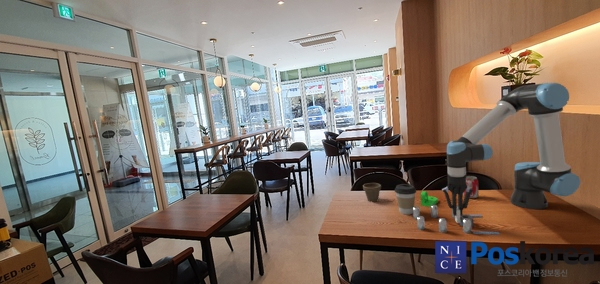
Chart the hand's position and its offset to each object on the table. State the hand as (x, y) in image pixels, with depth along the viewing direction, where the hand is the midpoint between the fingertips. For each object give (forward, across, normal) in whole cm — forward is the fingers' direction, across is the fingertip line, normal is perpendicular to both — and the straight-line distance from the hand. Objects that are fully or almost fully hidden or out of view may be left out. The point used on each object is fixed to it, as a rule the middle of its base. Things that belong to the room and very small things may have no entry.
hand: (457, 221), depth 124 cm
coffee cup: (+2, +22, -14) cm, 26 cm away
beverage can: (+2, -18, -38) cm, 42 cm away
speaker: (+1, -3, 0) cm, 3 cm away
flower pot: (+2, +40, -33) cm, 52 cm away
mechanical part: (+2, +6, -28) cm, 28 cm away
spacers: (+1, +4, 0) cm, 4 cm away
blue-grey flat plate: (+1, -8, 0) cm, 9 cm away
